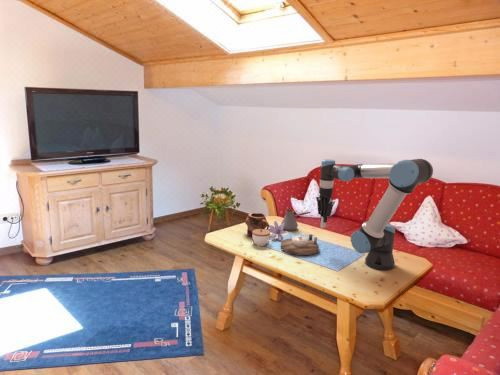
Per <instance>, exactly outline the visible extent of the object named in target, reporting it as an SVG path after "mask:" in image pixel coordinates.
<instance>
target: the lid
mask: <svg viewBox="0 0 500 375" xmlns="http://www.w3.org/2000/svg"><path fill="white" fill-rule="evenodd" d="M291 238H292V245H294V246H297V247H305V246H307V241H308V239H309V238H308V237H307V236H302V235H300V234H299V235H295V236H291Z"/></svg>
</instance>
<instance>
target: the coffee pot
mask: <svg viewBox="0 0 500 375" xmlns="http://www.w3.org/2000/svg"><path fill="white" fill-rule="evenodd" d="M284 212H285V215H284V217H283V219H282V221H281V223H280V225H281V224H282V223H285V224H284V227H283V229H282V230H283V231H287V232H288V231H295V230H296V229H297V228H298V226H299V224H298V222H297V219H296V217H297V216H304V215H307V214H312V211H306V212H301V213H298V214H294V213H295V210H294V209H285V211H284Z"/></svg>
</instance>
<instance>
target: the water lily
mask: <svg viewBox="0 0 500 375" xmlns="http://www.w3.org/2000/svg"><path fill="white" fill-rule="evenodd" d="M281 223H282V222H281ZM281 223H280V225H279V224H278V222H277V220H274V222H273V225H270V224H269V229H268V231H270V238H269V240H273V239H275V238H278V240H280V242H282V241H283V240H284V237H283V235H285V234H286V235H287V234H288V230H284V229H283V227H284V224H285V223H282V224H281Z"/></svg>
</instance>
